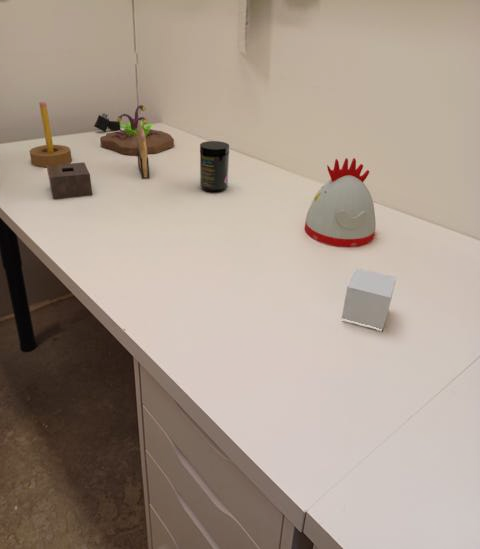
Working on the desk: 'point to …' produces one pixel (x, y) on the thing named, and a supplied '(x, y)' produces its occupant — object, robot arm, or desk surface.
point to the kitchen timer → (342, 209)
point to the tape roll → (50, 155)
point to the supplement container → (214, 166)
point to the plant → (128, 138)
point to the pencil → (46, 126)
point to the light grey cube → (368, 298)
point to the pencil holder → (69, 180)
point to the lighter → (106, 123)
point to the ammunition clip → (142, 152)
